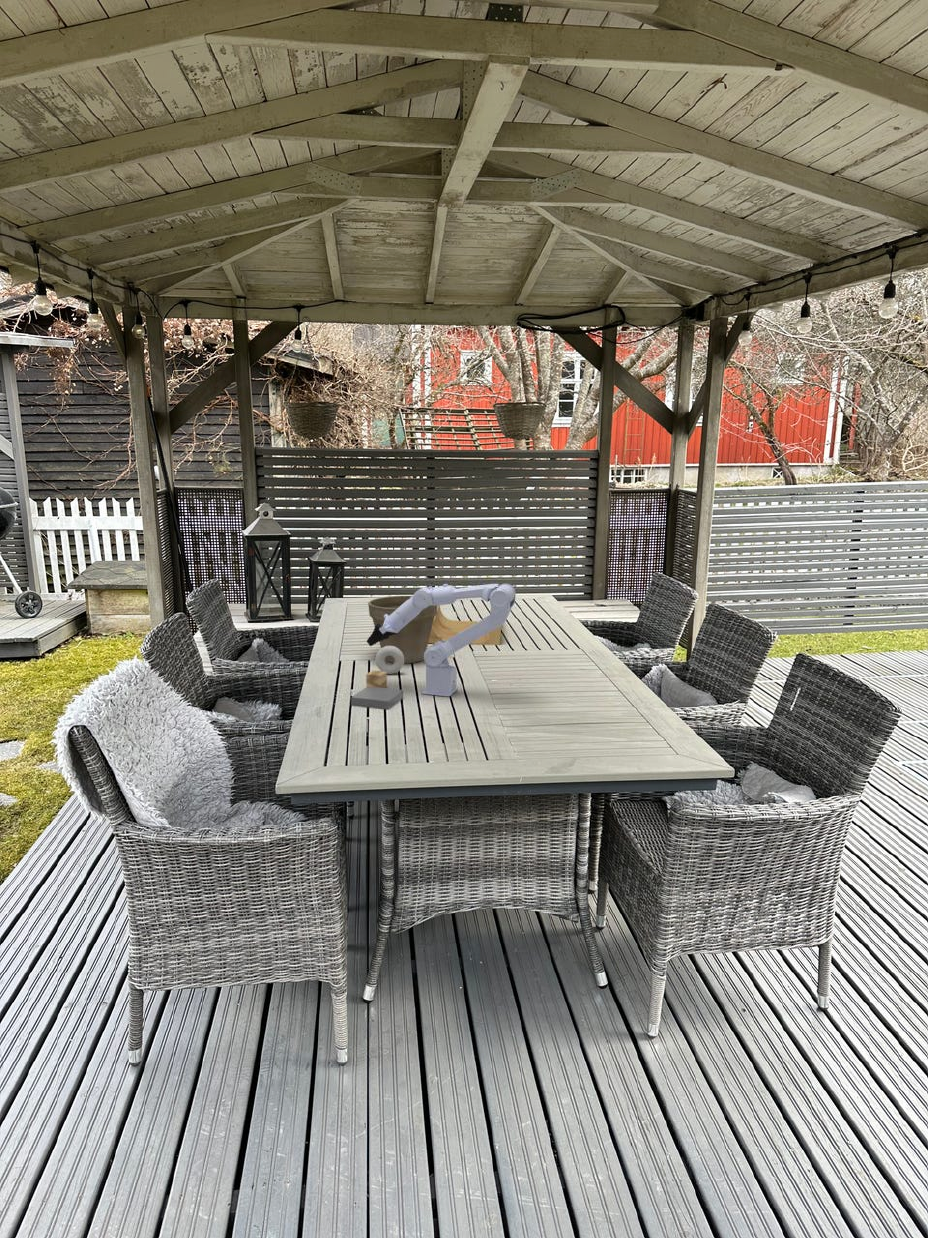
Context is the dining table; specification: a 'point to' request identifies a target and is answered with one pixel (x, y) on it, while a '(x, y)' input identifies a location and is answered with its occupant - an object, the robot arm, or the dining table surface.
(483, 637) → the skate ramp
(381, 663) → the donut
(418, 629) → the plant pot
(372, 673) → the oak cube
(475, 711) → the dining table surface
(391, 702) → the slate block
